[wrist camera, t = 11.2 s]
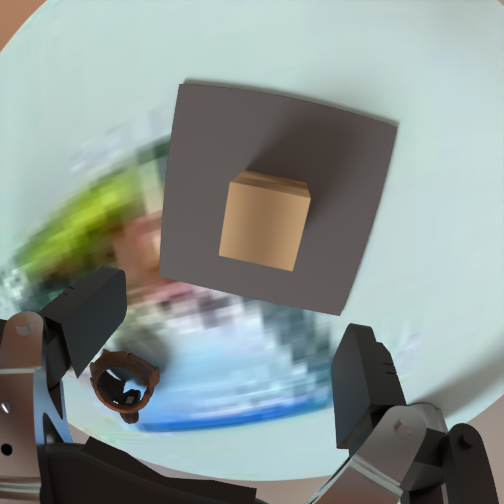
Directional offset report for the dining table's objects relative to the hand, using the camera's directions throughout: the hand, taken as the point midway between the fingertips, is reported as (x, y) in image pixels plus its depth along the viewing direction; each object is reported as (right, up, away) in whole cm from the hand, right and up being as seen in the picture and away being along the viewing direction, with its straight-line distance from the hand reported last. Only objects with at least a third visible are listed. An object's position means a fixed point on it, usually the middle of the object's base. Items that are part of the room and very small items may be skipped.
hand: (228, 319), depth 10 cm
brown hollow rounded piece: (-16, -14, +26) cm, 33 cm away
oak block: (+2, +6, +14) cm, 16 cm away
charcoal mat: (+2, +6, +15) cm, 16 cm away
